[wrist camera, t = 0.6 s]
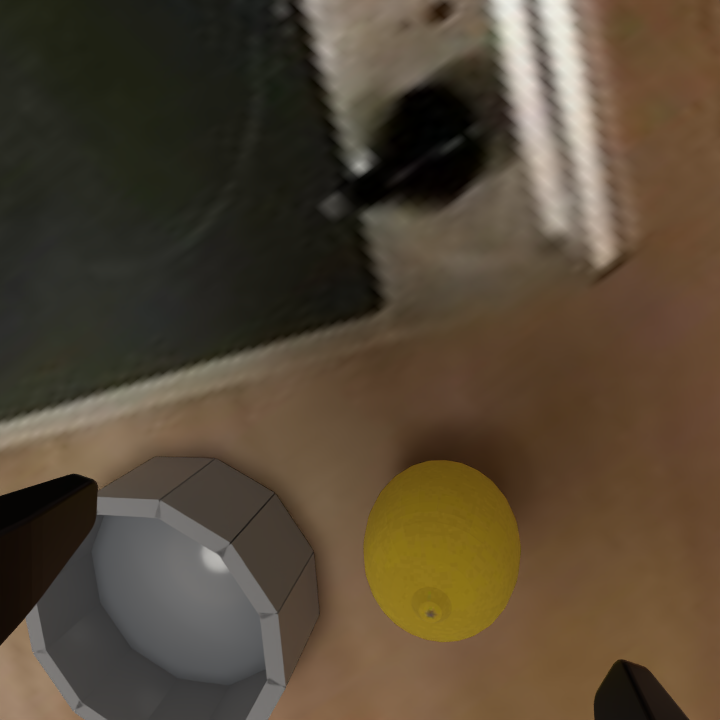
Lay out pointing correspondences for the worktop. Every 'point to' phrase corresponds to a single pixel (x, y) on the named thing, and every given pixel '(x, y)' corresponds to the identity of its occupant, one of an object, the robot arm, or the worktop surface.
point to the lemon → (442, 551)
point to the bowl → (179, 599)
